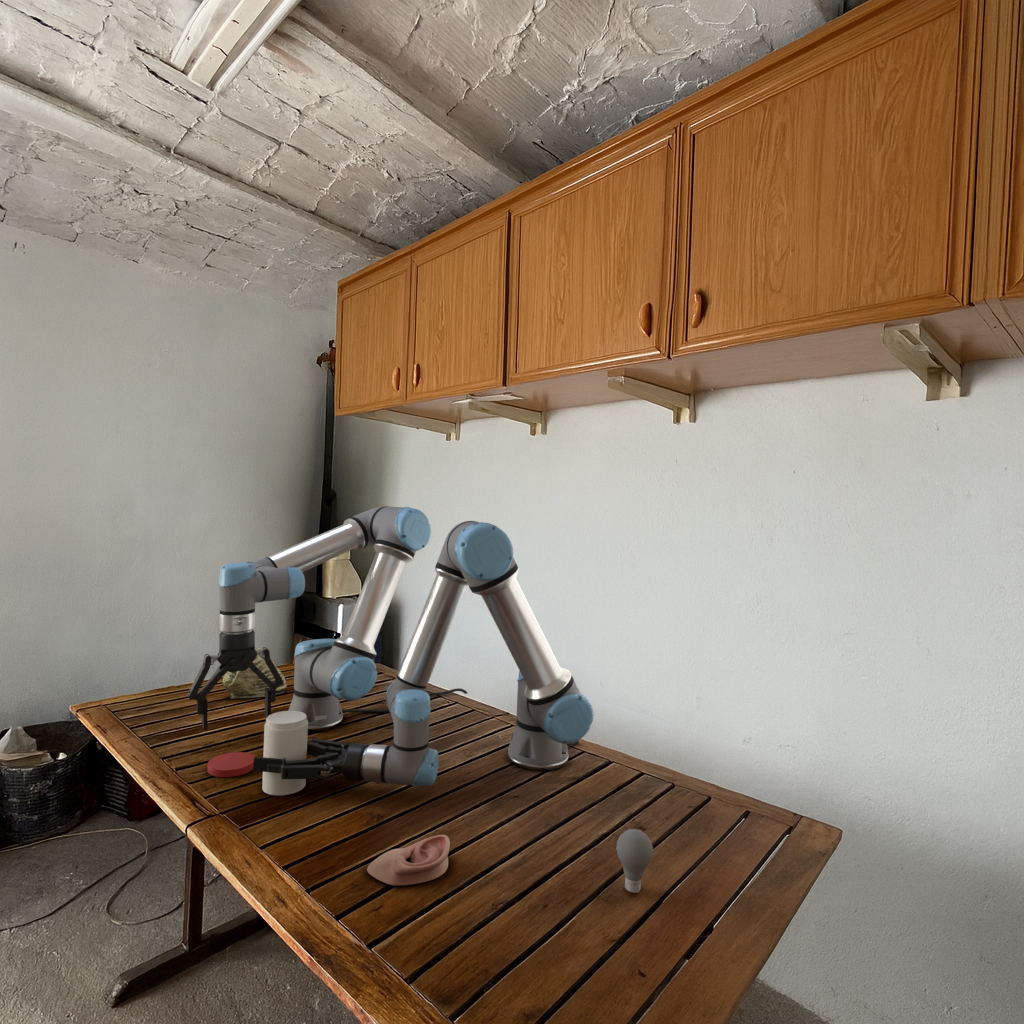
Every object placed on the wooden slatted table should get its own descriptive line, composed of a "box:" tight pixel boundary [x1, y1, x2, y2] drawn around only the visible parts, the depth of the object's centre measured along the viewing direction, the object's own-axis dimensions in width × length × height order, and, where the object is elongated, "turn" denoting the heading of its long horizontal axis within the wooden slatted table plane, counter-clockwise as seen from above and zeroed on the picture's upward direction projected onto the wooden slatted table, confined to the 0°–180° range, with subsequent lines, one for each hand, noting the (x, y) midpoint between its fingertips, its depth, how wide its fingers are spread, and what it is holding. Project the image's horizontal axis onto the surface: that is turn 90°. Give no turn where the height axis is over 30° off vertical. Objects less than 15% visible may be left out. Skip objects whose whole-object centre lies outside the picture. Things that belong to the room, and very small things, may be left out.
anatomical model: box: [366, 834, 451, 886], centre depth 109 cm, size 13×4×12 cm
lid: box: [206, 751, 256, 778], centre depth 146 cm, size 10×10×2 cm
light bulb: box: [615, 828, 654, 894], centre depth 106 cm, size 6×6×10 cm
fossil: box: [222, 647, 288, 699], centre depth 198 cm, size 9×18×15 cm, turn 132°
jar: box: [261, 710, 309, 796], centre depth 138 cm, size 9×9×15 cm
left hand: (237, 722), depth 146 cm, fingers open, 13 cm apart
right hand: (265, 754), depth 138 cm, fingers closed on jar, 9 cm apart
